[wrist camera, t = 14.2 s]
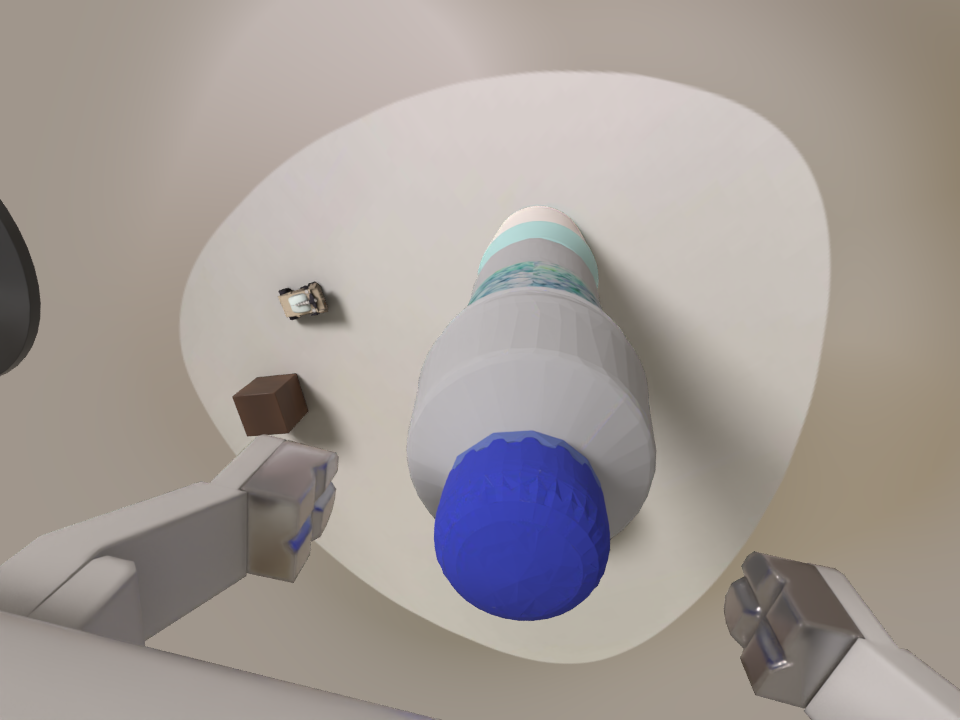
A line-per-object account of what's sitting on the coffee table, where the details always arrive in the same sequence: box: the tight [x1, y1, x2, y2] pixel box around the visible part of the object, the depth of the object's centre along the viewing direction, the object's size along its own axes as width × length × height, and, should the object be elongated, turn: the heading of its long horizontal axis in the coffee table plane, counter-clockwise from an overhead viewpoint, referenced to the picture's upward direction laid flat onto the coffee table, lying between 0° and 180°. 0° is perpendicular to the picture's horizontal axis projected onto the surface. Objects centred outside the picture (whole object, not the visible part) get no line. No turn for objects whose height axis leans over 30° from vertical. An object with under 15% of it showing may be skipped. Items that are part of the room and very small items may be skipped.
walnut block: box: [232, 374, 308, 436], centre depth 43 cm, size 4×4×4 cm
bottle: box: [407, 238, 656, 621], centre depth 17 cm, size 7×7×20 cm
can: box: [478, 206, 598, 290], centre depth 32 cm, size 7×7×12 cm
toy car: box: [278, 282, 328, 320], centre depth 40 cm, size 3×4×2 cm, turn 105°
